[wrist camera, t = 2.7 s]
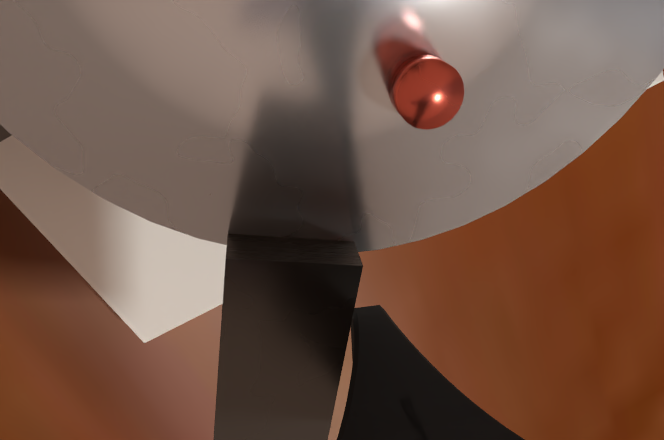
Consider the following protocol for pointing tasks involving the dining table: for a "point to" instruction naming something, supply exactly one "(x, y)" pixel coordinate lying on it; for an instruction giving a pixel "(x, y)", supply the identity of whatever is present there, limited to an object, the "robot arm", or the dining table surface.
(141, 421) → the dining table surface
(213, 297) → the board
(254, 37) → the lid
